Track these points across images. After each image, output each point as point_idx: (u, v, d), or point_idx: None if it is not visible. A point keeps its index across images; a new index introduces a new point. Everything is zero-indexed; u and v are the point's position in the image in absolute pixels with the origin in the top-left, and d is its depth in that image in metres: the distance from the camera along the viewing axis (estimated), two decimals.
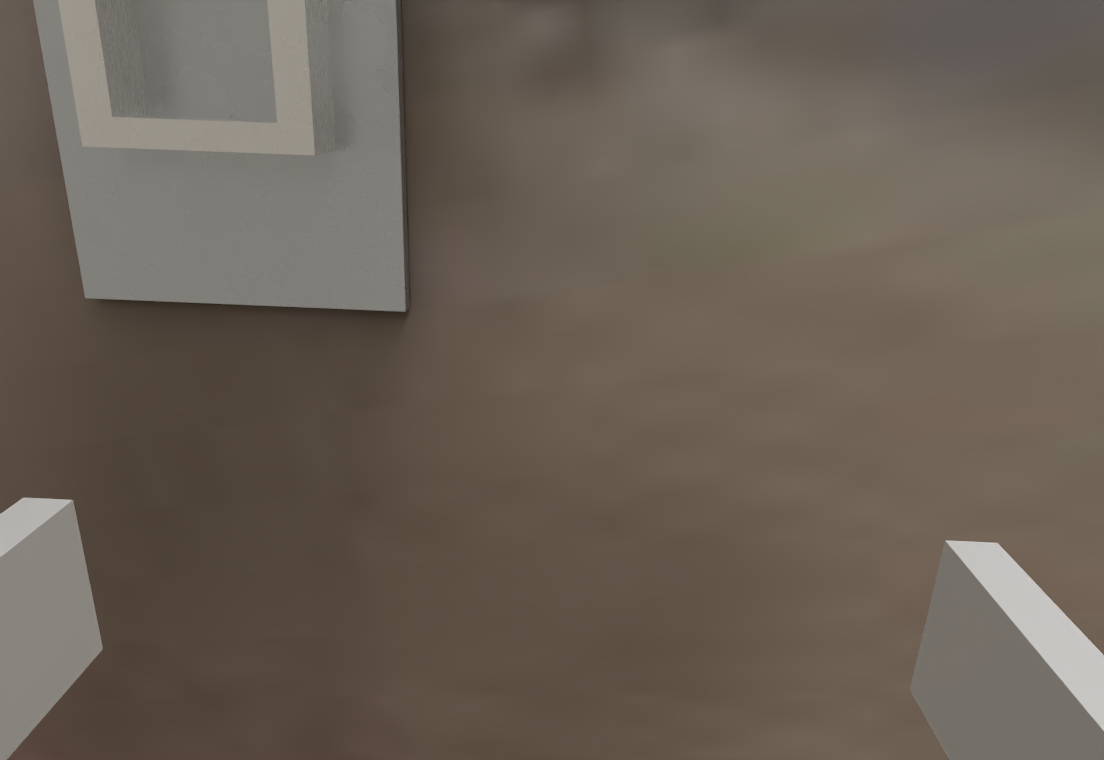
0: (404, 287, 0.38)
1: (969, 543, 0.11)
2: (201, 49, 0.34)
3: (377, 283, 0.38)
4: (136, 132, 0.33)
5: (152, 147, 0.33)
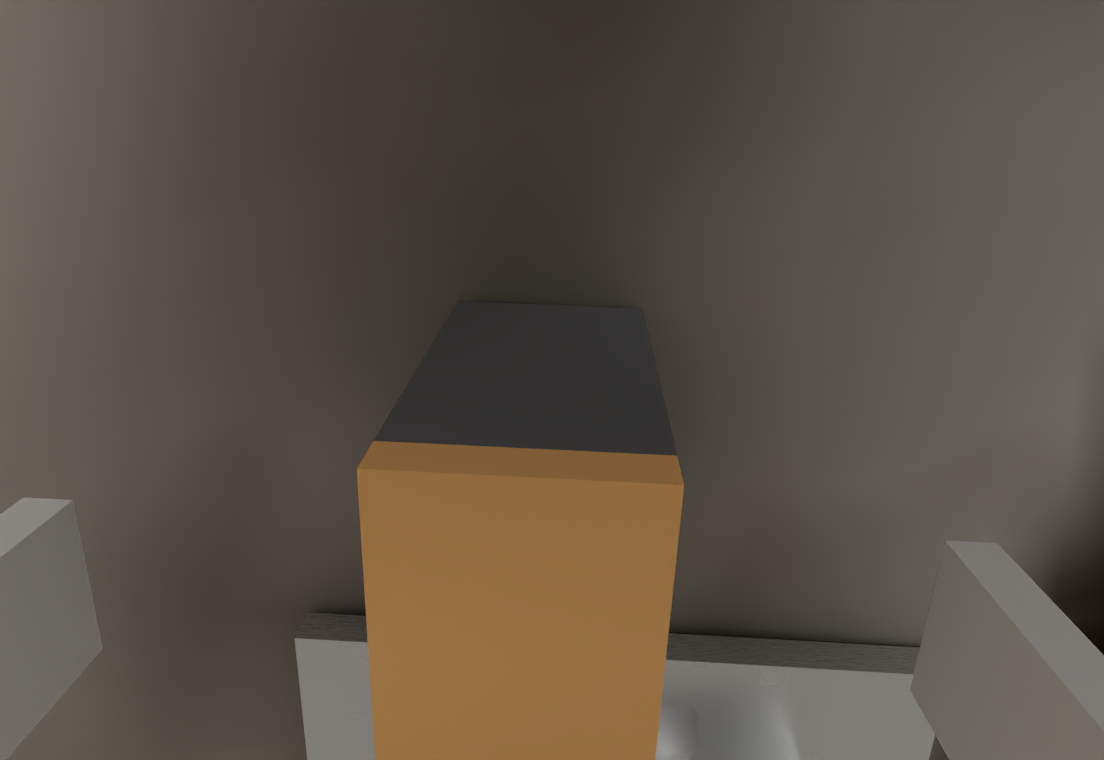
0: None
1: (969, 543, 0.11)
2: None
3: None
4: None
5: None
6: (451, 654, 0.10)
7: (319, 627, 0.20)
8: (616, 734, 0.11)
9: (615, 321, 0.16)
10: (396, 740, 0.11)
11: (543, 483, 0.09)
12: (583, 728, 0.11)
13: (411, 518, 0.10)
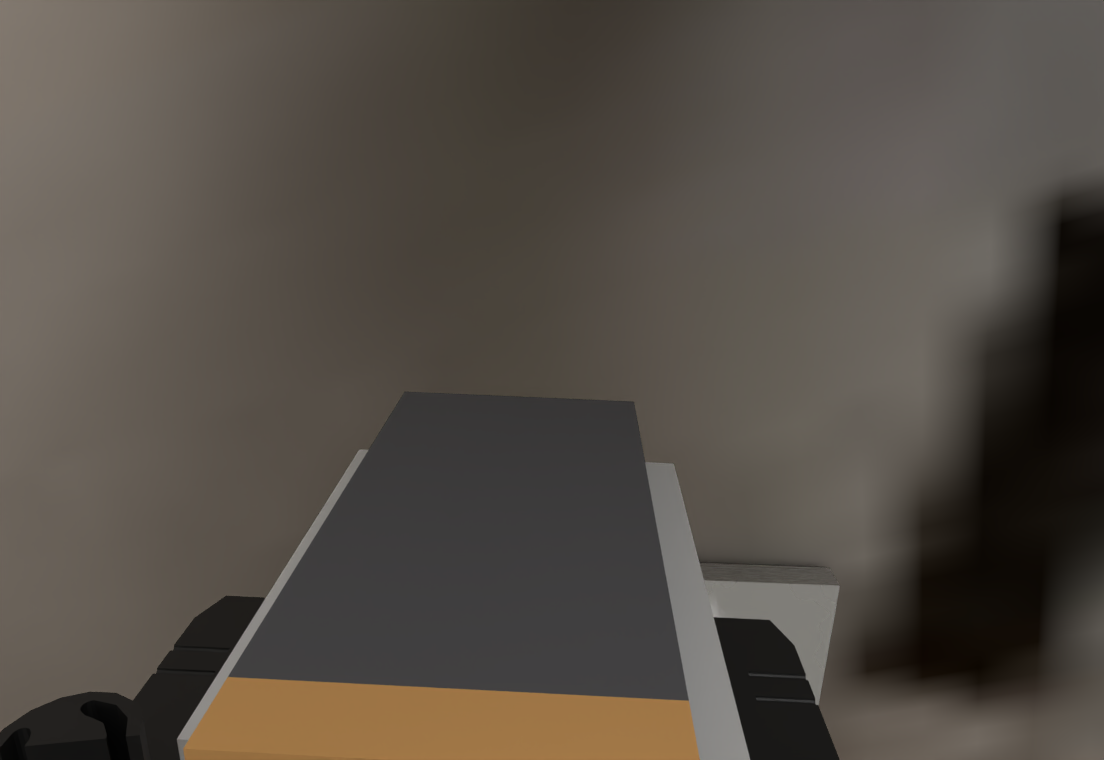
0: None
1: (649, 464, 0.13)
2: None
3: None
4: None
5: None
6: None
7: None
8: None
9: (600, 424, 0.12)
10: None
11: None
12: None
13: None
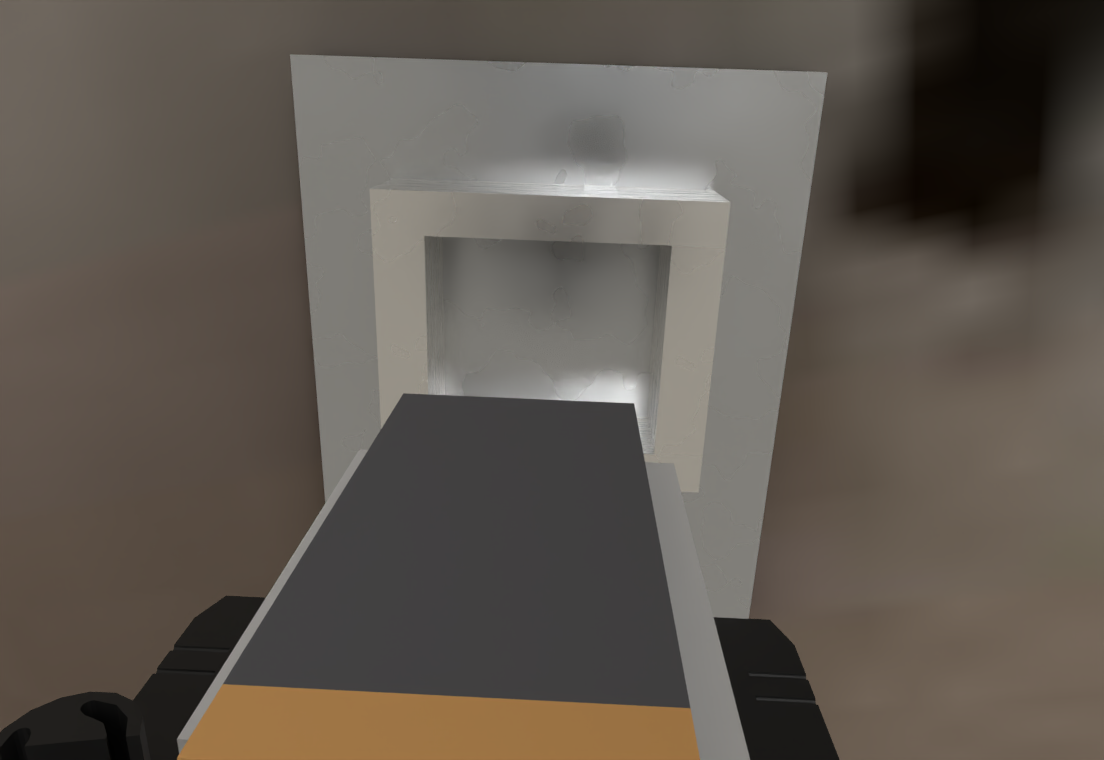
0: (749, 604, 0.29)
1: (649, 463, 0.13)
2: (525, 332, 0.26)
3: (715, 600, 0.29)
4: None
5: None
6: None
7: (310, 55, 0.24)
8: None
9: (601, 427, 0.12)
10: None
11: None
12: None
13: None
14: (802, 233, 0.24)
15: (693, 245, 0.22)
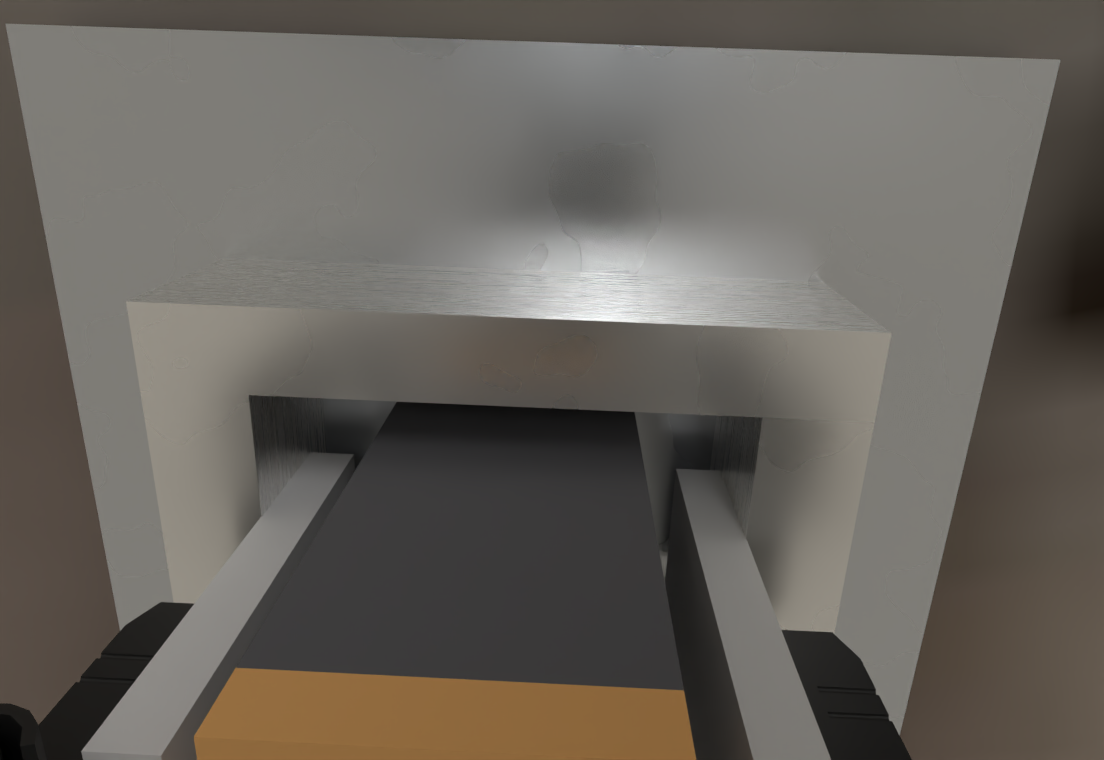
0: None
1: (694, 470, 0.13)
2: None
3: None
4: None
5: None
6: None
7: (53, 27, 0.12)
8: None
9: (598, 419, 0.13)
10: None
11: (481, 759, 0.06)
12: None
13: None
14: (985, 360, 0.13)
15: (806, 416, 0.11)
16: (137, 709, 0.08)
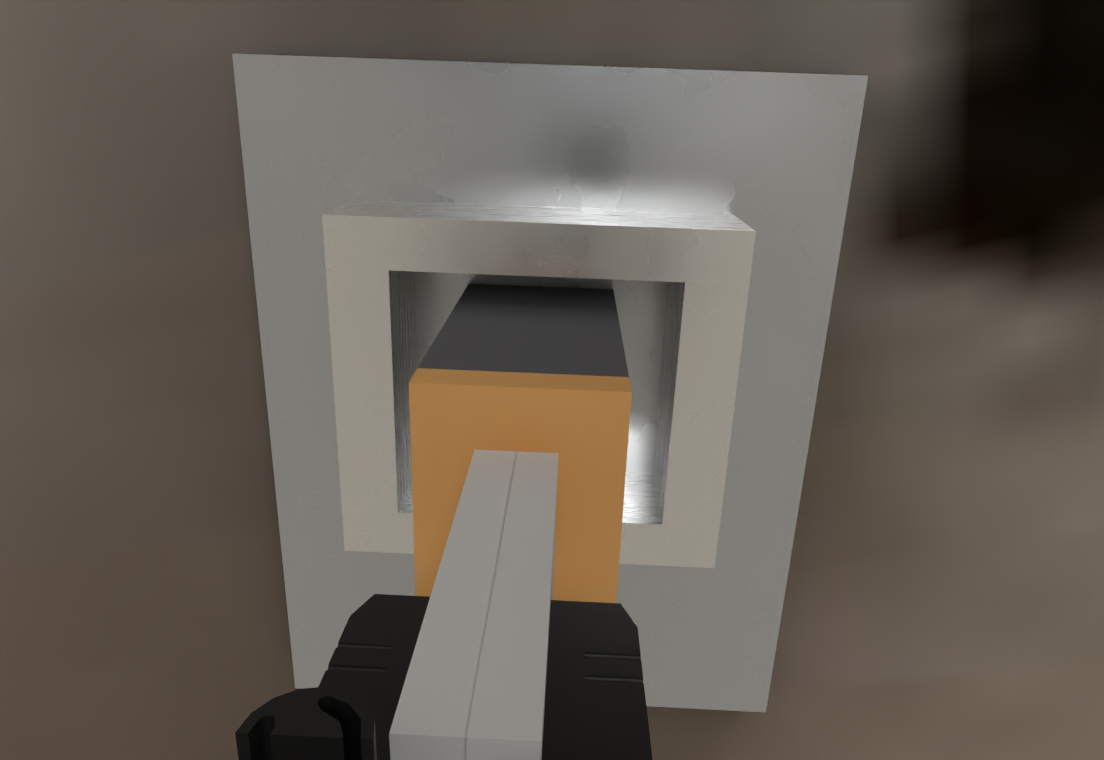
0: (769, 682, 0.26)
1: (534, 453, 0.14)
2: None
3: (730, 677, 0.26)
4: None
5: None
6: None
7: (257, 55, 0.20)
8: (588, 579, 0.15)
9: (592, 298, 0.20)
10: (431, 587, 0.15)
11: (536, 392, 0.14)
12: (565, 575, 0.15)
13: (446, 417, 0.14)
14: (835, 264, 0.21)
15: (711, 282, 0.18)
16: (423, 694, 0.08)
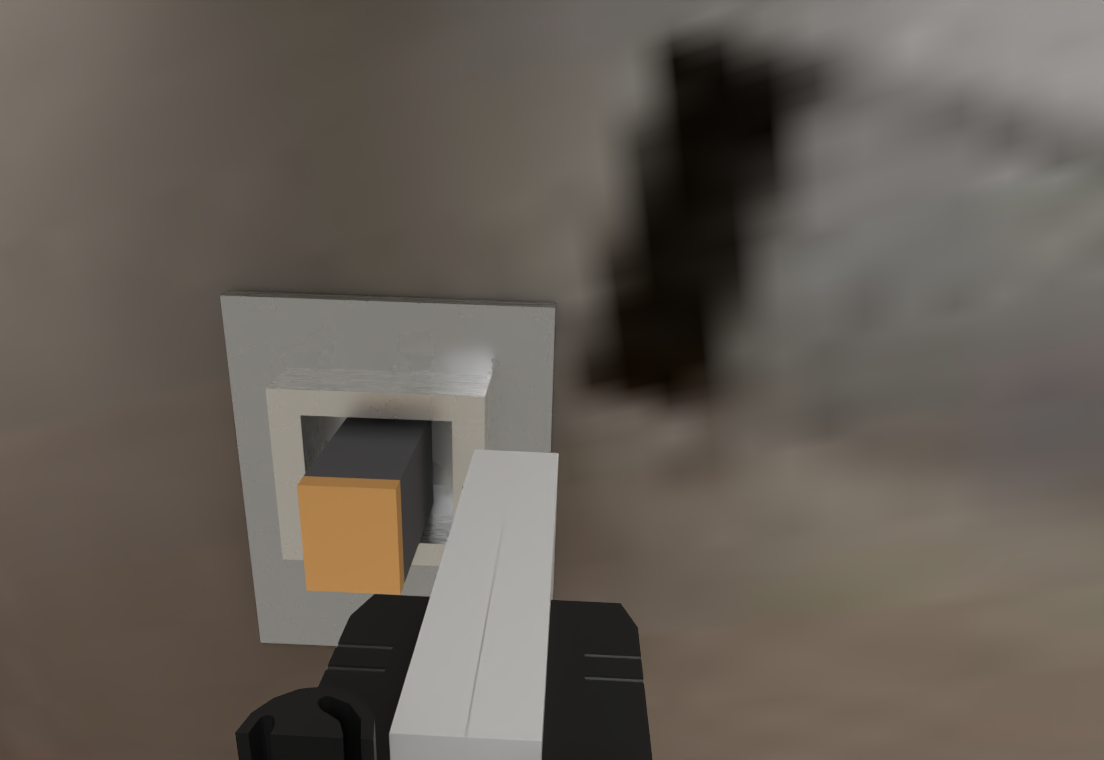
0: None
1: (534, 453, 0.14)
2: None
3: None
4: None
5: None
6: (329, 545, 0.32)
7: (233, 293, 0.37)
8: (385, 573, 0.32)
9: (414, 422, 0.38)
10: (312, 577, 0.33)
11: (353, 489, 0.31)
12: (374, 571, 0.32)
13: (314, 500, 0.31)
14: (551, 401, 0.38)
15: (465, 420, 0.35)
16: (422, 694, 0.08)
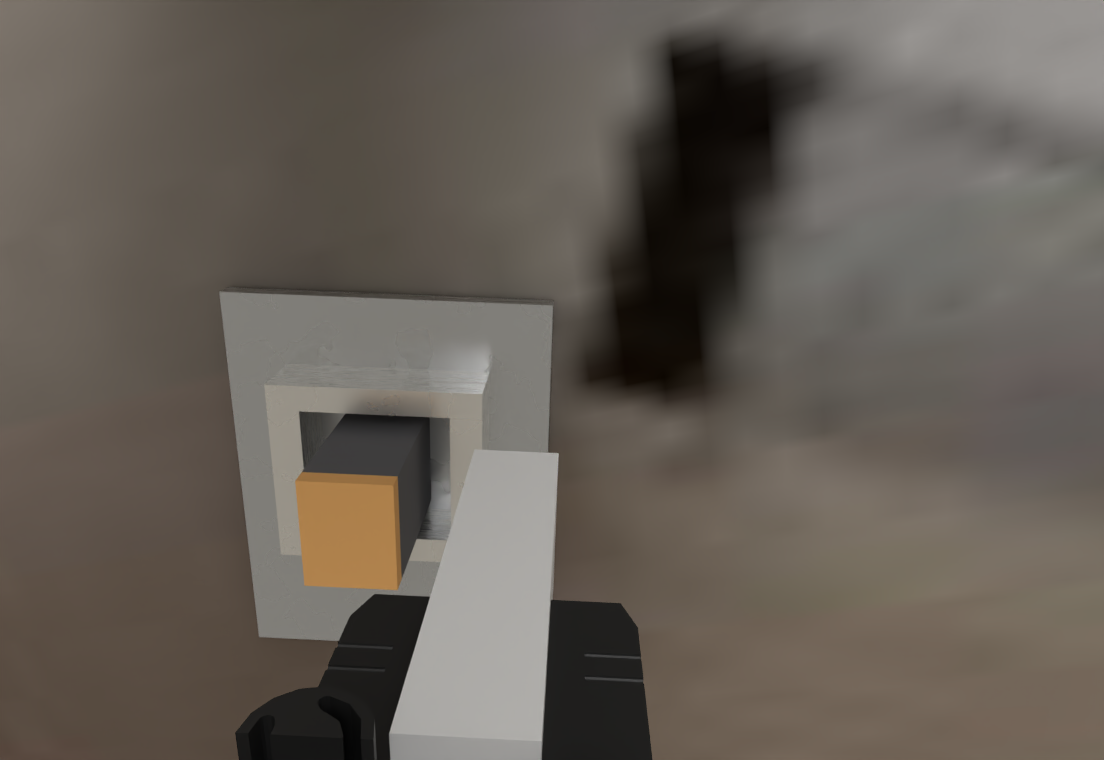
0: None
1: (533, 453, 0.14)
2: None
3: None
4: None
5: None
6: (327, 541, 0.32)
7: (232, 290, 0.37)
8: (383, 568, 0.33)
9: (412, 418, 0.38)
10: (310, 572, 0.33)
11: (351, 485, 0.31)
12: (372, 566, 0.33)
13: (312, 495, 0.32)
14: (548, 398, 0.38)
15: (463, 417, 0.36)
16: (423, 694, 0.08)
